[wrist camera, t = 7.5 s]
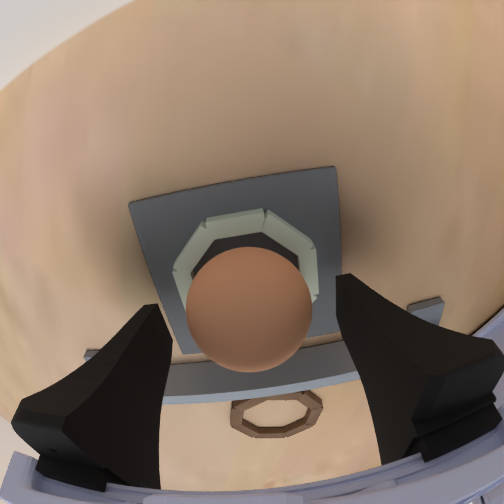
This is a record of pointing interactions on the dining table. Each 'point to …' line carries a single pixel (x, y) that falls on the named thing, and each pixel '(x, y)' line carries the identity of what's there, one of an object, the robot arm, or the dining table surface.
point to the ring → (276, 432)
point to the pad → (244, 237)
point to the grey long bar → (272, 371)
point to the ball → (249, 309)
